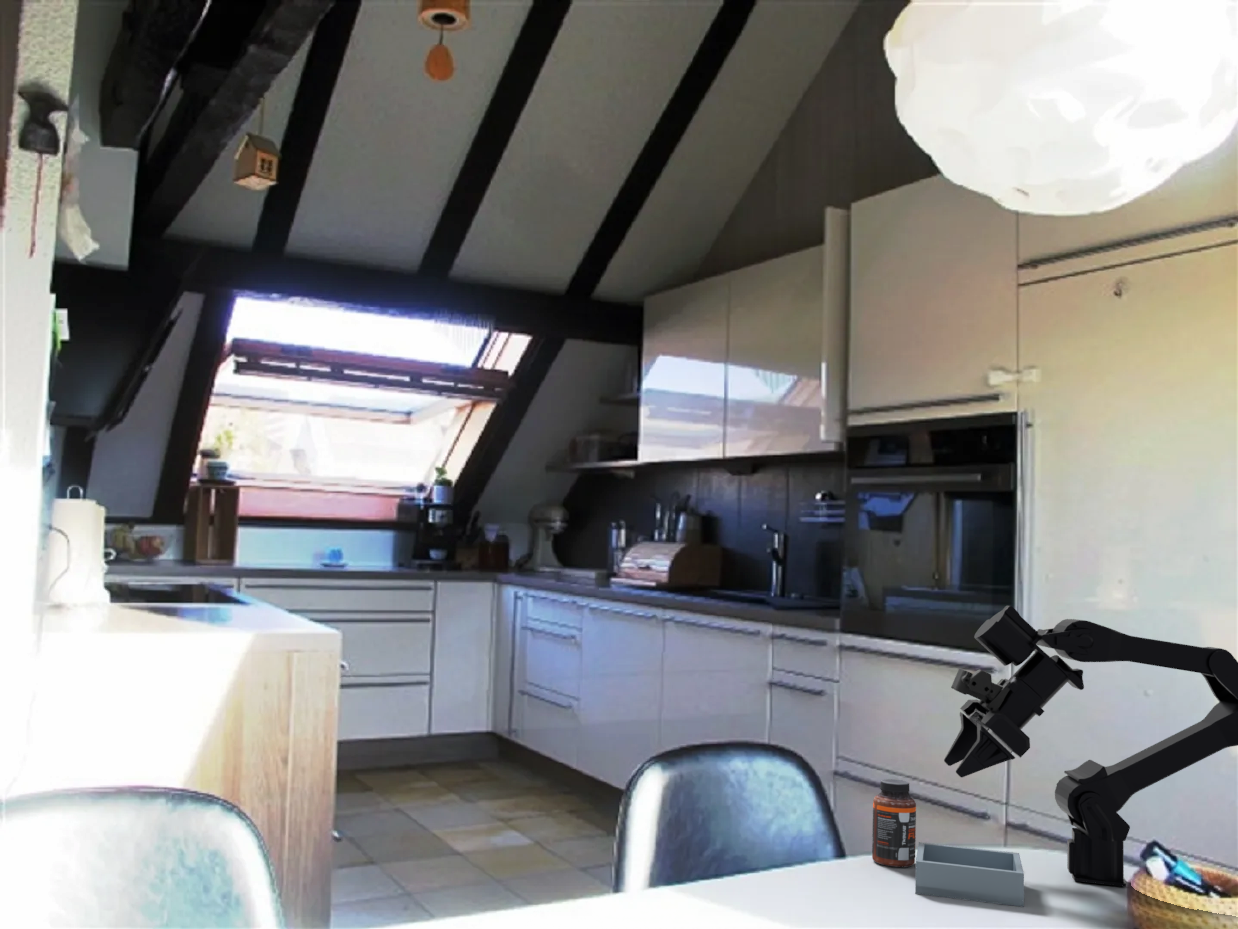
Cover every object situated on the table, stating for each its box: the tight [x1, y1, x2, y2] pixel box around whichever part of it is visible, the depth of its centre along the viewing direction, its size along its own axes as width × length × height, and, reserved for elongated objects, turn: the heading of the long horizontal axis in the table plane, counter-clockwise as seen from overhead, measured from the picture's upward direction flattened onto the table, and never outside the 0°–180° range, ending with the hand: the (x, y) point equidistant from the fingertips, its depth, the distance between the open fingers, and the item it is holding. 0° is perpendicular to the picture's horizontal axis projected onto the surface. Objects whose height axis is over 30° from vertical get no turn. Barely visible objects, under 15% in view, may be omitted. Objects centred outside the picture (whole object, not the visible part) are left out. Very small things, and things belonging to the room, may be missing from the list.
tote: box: [914, 841, 1025, 908], centre depth 142 cm, size 13×11×4 cm
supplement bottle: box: [871, 778, 917, 868], centre depth 154 cm, size 6×6×11 cm
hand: (952, 769), depth 153 cm, fingers open, 9 cm apart
